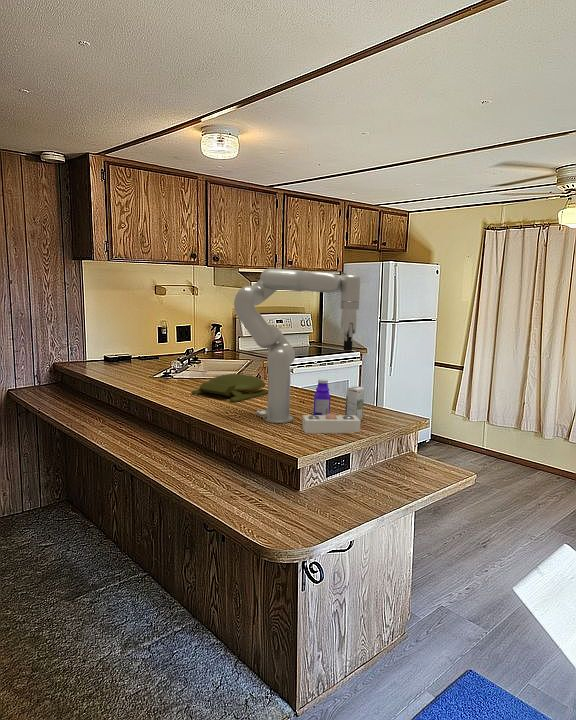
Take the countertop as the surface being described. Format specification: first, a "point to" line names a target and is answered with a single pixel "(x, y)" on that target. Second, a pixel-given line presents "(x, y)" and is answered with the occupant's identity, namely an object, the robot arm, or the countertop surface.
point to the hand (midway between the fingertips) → (347, 350)
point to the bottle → (322, 398)
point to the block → (330, 424)
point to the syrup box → (354, 401)
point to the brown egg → (331, 416)
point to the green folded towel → (233, 386)
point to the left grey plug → (313, 417)
